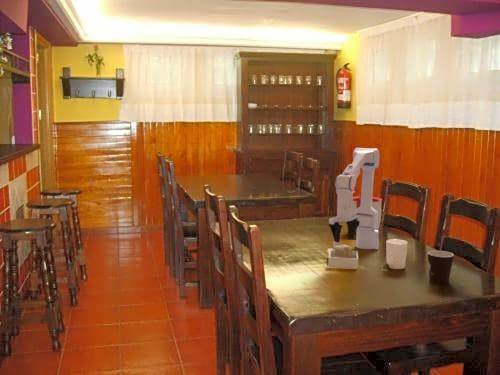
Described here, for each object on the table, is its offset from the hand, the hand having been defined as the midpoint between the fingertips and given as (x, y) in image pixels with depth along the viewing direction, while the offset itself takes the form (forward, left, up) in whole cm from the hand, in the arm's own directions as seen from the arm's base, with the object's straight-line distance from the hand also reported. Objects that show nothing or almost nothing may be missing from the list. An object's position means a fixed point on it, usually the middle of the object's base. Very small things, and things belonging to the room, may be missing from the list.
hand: (343, 240), depth 208 cm
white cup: (-20, 0, -10) cm, 22 cm away
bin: (0, 0, -10) cm, 10 cm away
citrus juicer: (-10, -56, -10) cm, 58 cm away
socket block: (0, 0, -9) cm, 9 cm away
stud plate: (+3, -15, -10) cm, 18 cm away
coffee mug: (-34, +14, -10) cm, 38 cm away
